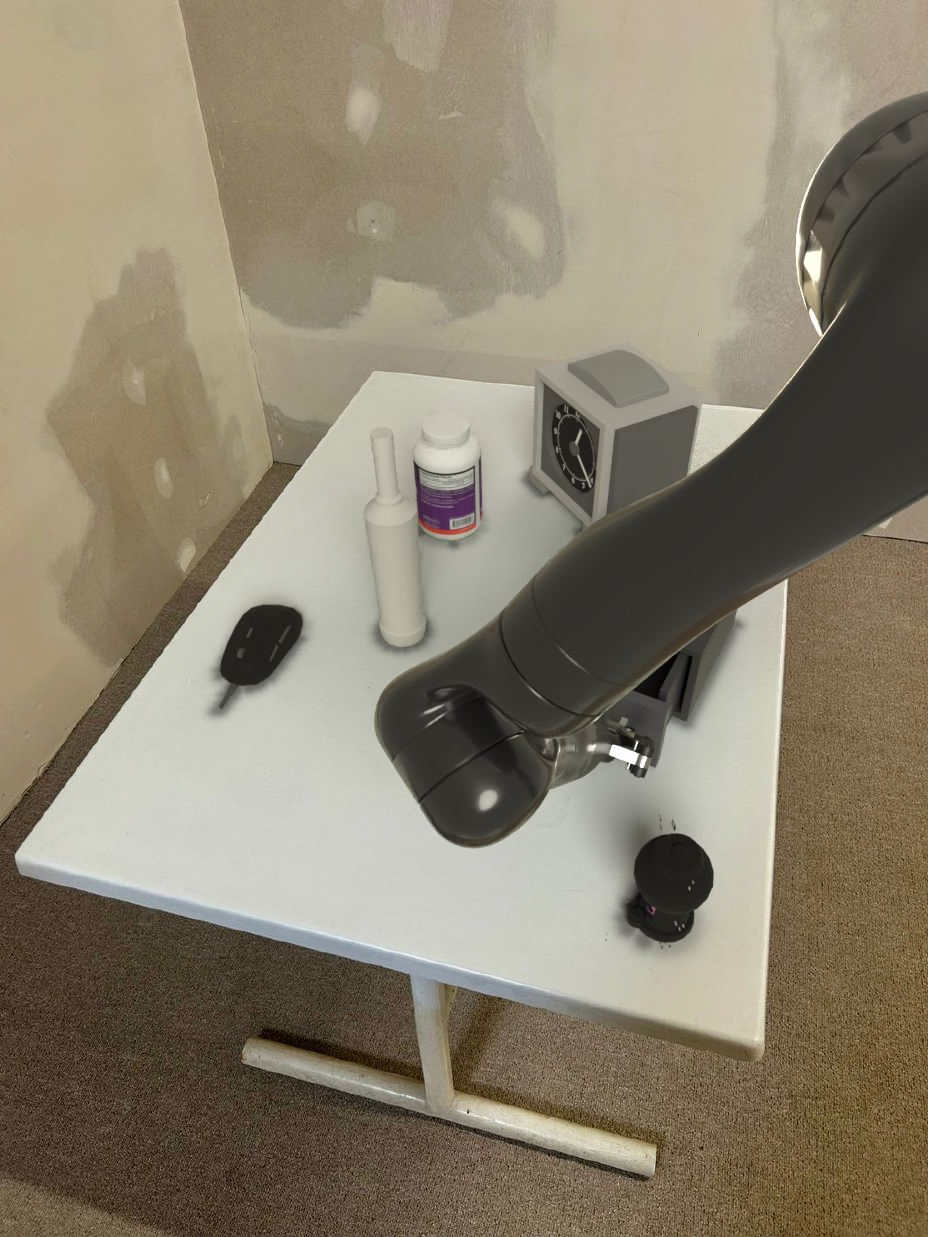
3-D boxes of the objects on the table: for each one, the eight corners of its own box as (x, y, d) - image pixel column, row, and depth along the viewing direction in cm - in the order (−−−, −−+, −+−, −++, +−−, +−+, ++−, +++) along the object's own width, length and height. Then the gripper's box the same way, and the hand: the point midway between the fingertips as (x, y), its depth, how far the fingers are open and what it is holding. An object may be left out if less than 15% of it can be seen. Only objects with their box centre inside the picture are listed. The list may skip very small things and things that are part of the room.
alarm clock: (525, 476, 115) (528, 347, 103) (608, 449, 119) (620, 322, 107) (602, 552, 103) (616, 417, 91) (691, 519, 107) (716, 386, 95)
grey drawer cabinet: (686, 721, 84) (702, 653, 78) (568, 677, 89) (573, 609, 82) (733, 623, 94) (751, 555, 87) (624, 587, 99) (633, 520, 92)
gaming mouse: (193, 701, 88) (184, 675, 85) (263, 607, 98) (256, 580, 95) (248, 716, 87) (240, 689, 84) (313, 618, 97) (307, 591, 94)
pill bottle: (438, 498, 112) (432, 399, 102) (493, 515, 109) (493, 414, 99) (406, 533, 107) (396, 432, 97) (463, 551, 104) (459, 449, 94)
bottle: (389, 612, 97) (364, 415, 80) (433, 619, 96) (417, 421, 79) (373, 644, 93) (344, 445, 76) (419, 652, 92) (399, 452, 75)
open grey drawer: (637, 804, 77) (648, 750, 71) (522, 755, 81) (524, 701, 75) (705, 666, 88) (718, 610, 83) (601, 630, 93) (607, 575, 87)
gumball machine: (611, 885, 72) (623, 818, 65) (678, 869, 73) (697, 801, 66) (641, 962, 67) (657, 898, 60) (712, 944, 68) (736, 879, 61)
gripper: (656, 723, 60) (687, 716, 75) (474, 653, 65) (539, 660, 81) (619, 824, 60) (658, 796, 76) (442, 746, 66) (512, 735, 81)
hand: (596, 726), depth 78 cm, fingers closed on open grey drawer, 5 cm apart
